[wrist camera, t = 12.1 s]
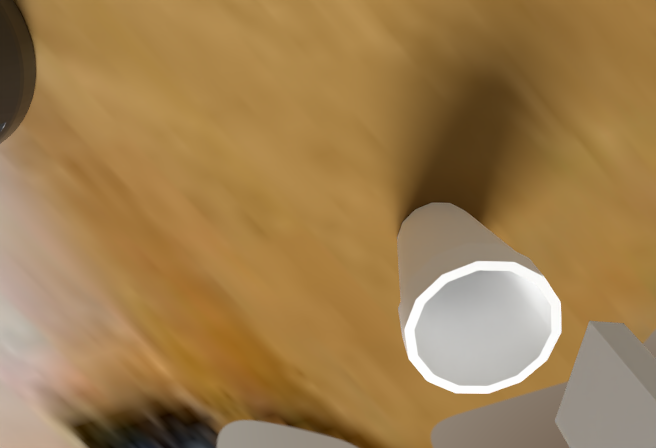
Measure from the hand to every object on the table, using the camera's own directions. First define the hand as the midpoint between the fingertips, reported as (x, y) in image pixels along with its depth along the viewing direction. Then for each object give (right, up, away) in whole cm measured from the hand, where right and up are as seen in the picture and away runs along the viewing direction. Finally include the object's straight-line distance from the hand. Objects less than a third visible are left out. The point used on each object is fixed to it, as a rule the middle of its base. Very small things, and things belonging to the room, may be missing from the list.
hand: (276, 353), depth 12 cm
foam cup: (+10, +2, +34) cm, 36 cm away
